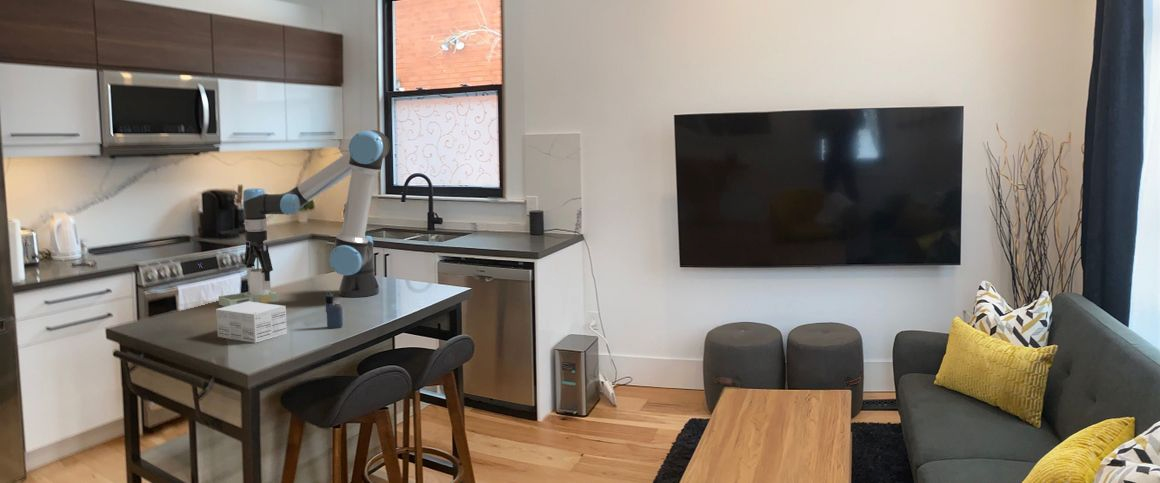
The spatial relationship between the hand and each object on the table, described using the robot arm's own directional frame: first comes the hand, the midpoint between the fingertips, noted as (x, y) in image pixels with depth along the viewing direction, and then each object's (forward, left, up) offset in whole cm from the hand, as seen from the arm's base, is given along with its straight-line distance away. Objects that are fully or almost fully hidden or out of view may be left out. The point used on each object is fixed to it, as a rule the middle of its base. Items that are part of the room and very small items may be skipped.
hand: (259, 286), depth 305 cm
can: (0, 0, -6) cm, 6 cm away
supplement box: (-45, +23, -6) cm, 51 cm away
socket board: (0, +4, -5) cm, 7 cm away
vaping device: (-55, -1, -6) cm, 55 cm away
